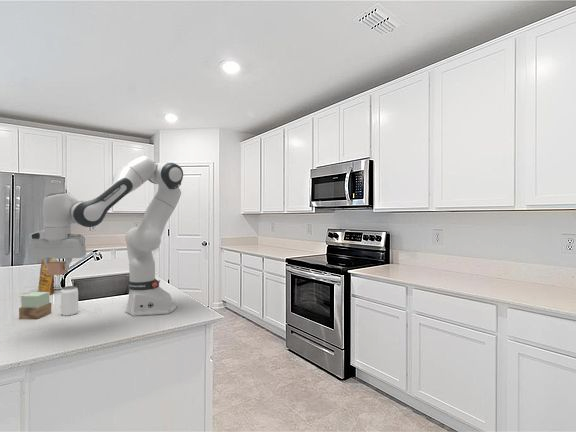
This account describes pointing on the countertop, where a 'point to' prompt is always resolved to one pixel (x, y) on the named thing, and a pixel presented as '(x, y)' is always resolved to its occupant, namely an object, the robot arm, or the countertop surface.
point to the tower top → (35, 299)
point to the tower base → (34, 312)
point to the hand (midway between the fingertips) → (58, 269)
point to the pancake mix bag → (46, 279)
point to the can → (69, 300)
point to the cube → (56, 268)
